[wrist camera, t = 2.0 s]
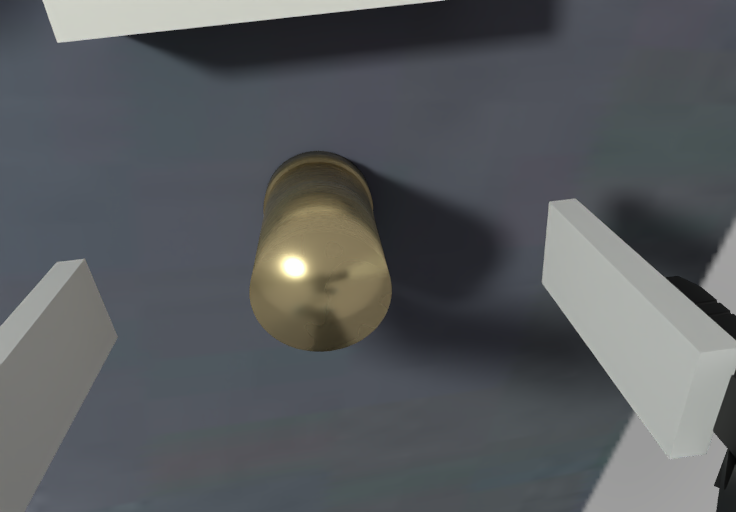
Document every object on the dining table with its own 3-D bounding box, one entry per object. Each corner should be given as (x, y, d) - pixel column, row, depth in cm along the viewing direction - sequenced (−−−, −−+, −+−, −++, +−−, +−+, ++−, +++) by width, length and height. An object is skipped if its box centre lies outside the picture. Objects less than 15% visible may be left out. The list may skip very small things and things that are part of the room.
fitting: (374, 241, 22) (399, 343, 16) (275, 254, 22) (261, 362, 15) (365, 144, 20) (389, 218, 14) (255, 158, 20) (230, 238, 13)
